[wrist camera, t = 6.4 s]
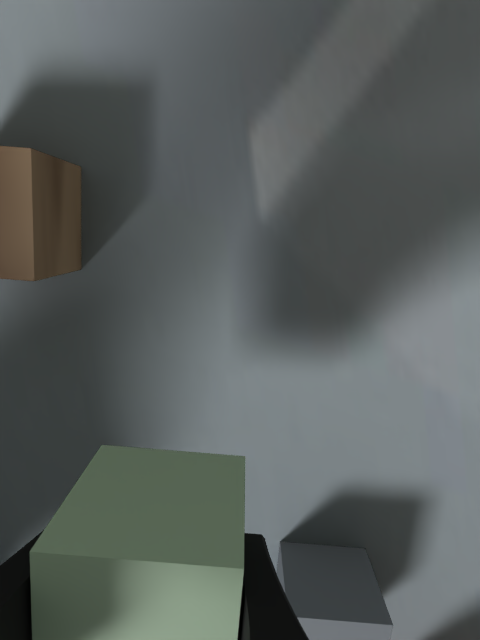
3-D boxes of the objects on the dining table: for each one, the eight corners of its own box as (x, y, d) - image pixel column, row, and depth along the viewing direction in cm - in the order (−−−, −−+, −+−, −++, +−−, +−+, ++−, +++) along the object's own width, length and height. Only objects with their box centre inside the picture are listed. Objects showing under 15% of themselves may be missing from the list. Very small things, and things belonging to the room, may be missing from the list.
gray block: (271, 610, 23) (277, 699, 19) (279, 540, 22) (287, 616, 18) (353, 617, 23) (377, 707, 19) (364, 547, 22) (393, 625, 18)
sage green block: (100, 567, 14) (34, 719, 10) (101, 445, 13) (29, 551, 9) (234, 578, 14) (228, 734, 10) (245, 456, 13) (243, 569, 9)
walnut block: (-15, 261, 20) (-91, 271, 15) (-21, 159, 19) (-103, 137, 14) (82, 269, 20) (34, 281, 15) (81, 167, 19) (31, 148, 14)
